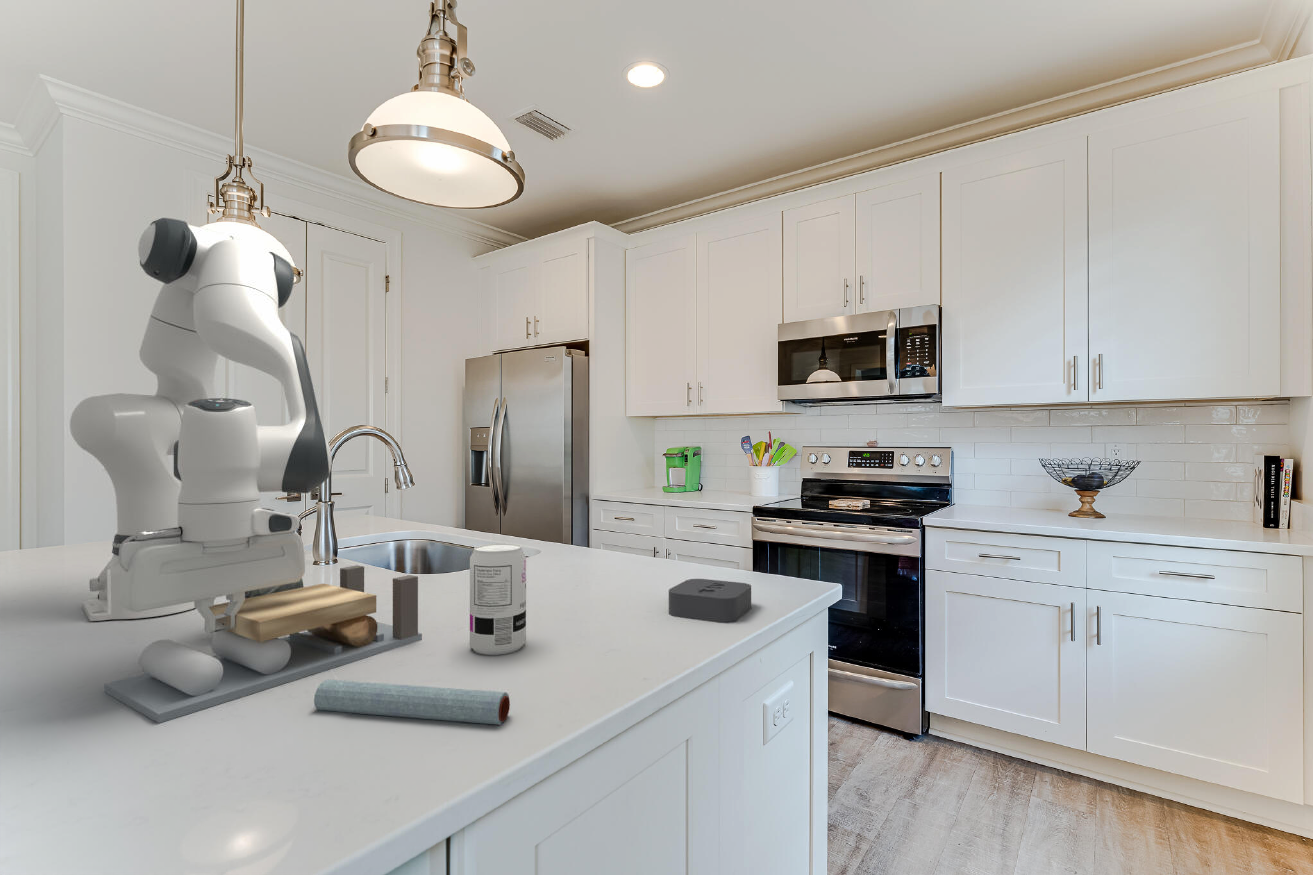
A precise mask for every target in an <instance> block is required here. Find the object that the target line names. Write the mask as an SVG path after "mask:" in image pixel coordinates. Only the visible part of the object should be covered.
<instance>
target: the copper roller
mask: <svg viewBox="0 0 1313 875" xmlns="http://www.w3.org/2000/svg"><path fill="white" fill-rule="evenodd" d="M377 622H378V621H377V620H376V619H375V618H374V617H373V616H370V615H364V616H360V617H356V618H352V619H348V620H344V621H340V622H336V623H333V624H329V625H325V626H321V627H317V628H313V629H309V630H306V632H310V633H313V634H317V635H320V636H323V637H327V638H330V639H333V640H337V641H340V642H344V643H347V644H350V645H354V646H357V647H363V646H366V645H368V644H369V643H371V642H372V640H373V639H374V638H375V636H376V633H377V629H378V626H377Z"/></svg>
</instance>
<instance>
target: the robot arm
mask: <svg viewBox="0 0 1313 875" xmlns="http://www.w3.org/2000/svg"><path fill="white" fill-rule="evenodd" d="M137 248H138V250H137V251H138V253H137V254H138V256H139V257H138V258H139V265H140V267H141V268H142V270H143V271H144V273H145V274H146V275H147V276H149V277H151V278H153V279H154V280H156V281H159V282H161V283H162V284H163V285H162V286H161V288H160V291H159V292H158V295H157V296H156V298H155V299H156V300H155V301H154V305H153V307H152V310H151V313H150V316H149V318H148V323H147V325H146V329H145V332H144V334H143V339H142V341H141V345H140V348H139V353H138V355H139V359H140V361H141V363H142V364H143V365H144V367H146V368H147V369H148V370H149V371H150V372H151V373H153V374H154V375H156V379H157V389H156V393H155V394H154V395H149V394H135V393H112V394H109V393H108V394H102V395H95V396H89V397H87V398H84V399H83V400H81V401H80V402H79V403H78V404H77V405H76V406H75V408H74V410H73V411H72V413H71V416H70V420H69V430H70V433H71V436H72V438H73V441H75V443H76V444H77V445H78V447H80V449H82V450H84V451H86V452H87V453H89V454H90V455H91V456H93V457H94V458H95V459H96V460H97V461H98V462H99V463H100V464H101V465H102V466H103V468H104V470H105V471H106V473H107V475H108V476H109V479H110V480H111V483H112V485H113V488H114V493H115V501H116V502H115V503H116V519H117V521H116V522H117V523H116V525H117V526H116V527H117V533H116V534H114V538H113V541H112V550H111V553H112V554H113V555H112V558H111V559H110V560H109V562H108V563H107V564H106V565H105V567H104V568H103V569H102V570H101V572H100V573H99V575H98V576H97V577H95V578H90V579H89V592H98V593H97V597H94V598H90V599H86V600H84V601H83V602H82V609H83V610H84V613H85V615H86V617H87V618H88V621H90V622H98V621H99V622H101V621H107V620H109V621H110V620H130V619H134V620H135V619H144V618H152V617H159V616H166V615H172V614H177V613H181V612H185V611H189V610H190V611H191V610H193V609H196V610H197V612H198V613H199V614H200V615H201V616H202V618H203V619H204V631H205V633H208V634H212V633H214V634H215V633H216V632H217V631H221V630H226V629H231V628H234V627H235V615H236V614H237V612H238V611H239V609H240V607H241V606H242V604H243V602H244V601H245V592H246V591H252V590H257V589H262V588H268V587H273V586H278V585H284V584H289V583H294V582H298V581H300V579H301V578H302V579H303V577H304V575H305V573H306V558H305V556H306V555H305V546H304V542H303V538H302V537H301V535H300V534H299V533H297V532H296V531H298V530H299V527H300V518H299V517H298V516H297V515H293V514H288V513H285V512H279V511H275V510H274V509H271V508H263V507H261V494H260V493H267V492H269V493H271V492H273V493H274V492H282V493H293V494H309V493H311V492H312V491H314V490H316V489H317V488H318V487H319V486H321V485H322V484H324V483H325V481H326V482H327V480H328V479H329V477H330V473H331V469H332V465H333V464H332V463H333V458H332V456H333V455H332V452H331V451H332V450H331V446H330V443H329V441H328V438H327V436H326V433H325V432H324V428H323V425H322V421H321V416H320V413H319V411H320V410H319V408H318V403H317V398H316V393H315V390H314V384H313V380H312V376H311V375H312V374H311V371H310V367H309V363H308V359H307V355H306V352H305V349H304V348H305V347H304V346H303V344H302V341H301V340H300V338H299V336H298V335H296V334H294V333H293V332H290V331H289V330H287V328H286V327H285V326H284V323H282V321H281V319H280V316H279V309H280V308H282V307H284V306H285V304H286V303H287V302H288V300H289V298H290V296H291V294H292V292H293V289H294V283H295V272H294V269H293V267H292V265H291V263H290V262H289V261H287V259H285V258H283V257H282V256H280V255H278V254H277V253H275V252H272V251H269V252H268V251H266V250H265V249H262V248H261V247H260V246H258V245H256V244H254V243H252V242H250V241H246V240H242V239H240V238H238V237H234V236H232V235H229V236H228V235H226V234H223V233H220V232H217V231H213V230H210V229H207V228H204V227H200V226H197V225H196V226H195V225H191V224H188V222H186V221H185V220H180V219H176V218H170V217H169V218H168V217H161V218H158V219H155V220H153V221H152V222H151V223H150V224H149V226H148V227H147V228H146V229H144V231H143V232H142V234H141V236H140V238H139V240H138V247H137ZM219 356H220V357H223V358H225V359H228V361H229V360H230V361H231V362H235V363H237V364H241V365H244V366H247V367H251V368H253V369H256V370H259V371H260V372H263V373H266V374H268V375H270V376H272V377H273V378H275V379H276V380H278V381H279V383H281V385H282V387H283V391H284V395H285V400H286V404H287V411H288V414H289V420H290V422H288V423H286V424H284V425H258V419H257V414H256V410H255V406H254V404H252V403H250V402H248V401H246V400H243V399H236V398H226V397H225V398H222V397H221V398H219V397H216V393H215V388H214V376H215V370H216V365H217V363H218V358H219ZM168 456H173V469H172V467H171V465H170V463H169V458H168ZM219 597H220V598H221V597H225V600H227V601H228V602H229V604H228V606H227V608H226V610H225V611H224V614H220V615H216V616H215V615H214V614H213V613H212V611H211V610H210V609H209V607H211V606H214V605H215V599H216V598H219Z"/></svg>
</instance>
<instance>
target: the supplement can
mask: <svg viewBox="0 0 1313 875" xmlns="http://www.w3.org/2000/svg"><path fill="white" fill-rule="evenodd" d="M522 546H523V545H521V544H517V543H505V542H503V543H487V544H481V545H477V546H475V547H474V548H473V551H472V553H471V555H470V556H469V647H470V648H471V649H473V651H474V652H475V653H476V654H479V655H484V656H501V655H506V654H510V653H515V652H517V651H518V650H520V649H521V648H522V647H523V645H524V644H526V642H527V556H526V554H525V553H524V550H523V547H522Z"/></svg>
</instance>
